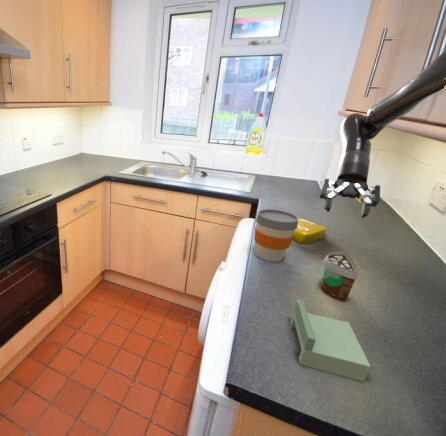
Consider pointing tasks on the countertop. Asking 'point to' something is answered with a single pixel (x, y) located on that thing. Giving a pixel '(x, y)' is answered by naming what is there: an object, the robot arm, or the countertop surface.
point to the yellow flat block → (308, 231)
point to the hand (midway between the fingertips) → (345, 213)
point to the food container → (338, 276)
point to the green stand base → (329, 344)
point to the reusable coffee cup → (274, 233)
